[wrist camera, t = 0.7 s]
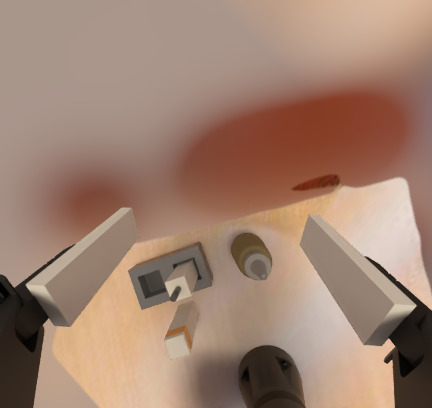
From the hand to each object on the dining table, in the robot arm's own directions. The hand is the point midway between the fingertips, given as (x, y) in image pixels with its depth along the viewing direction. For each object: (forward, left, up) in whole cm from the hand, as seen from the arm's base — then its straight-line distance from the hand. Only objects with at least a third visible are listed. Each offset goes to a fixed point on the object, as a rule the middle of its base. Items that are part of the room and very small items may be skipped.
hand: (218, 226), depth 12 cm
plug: (-22, +17, -30) cm, 41 cm away
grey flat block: (-11, +17, -30) cm, 36 cm away
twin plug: (-11, +12, -29) cm, 34 cm away
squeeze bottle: (-11, -3, -31) cm, 32 cm away
